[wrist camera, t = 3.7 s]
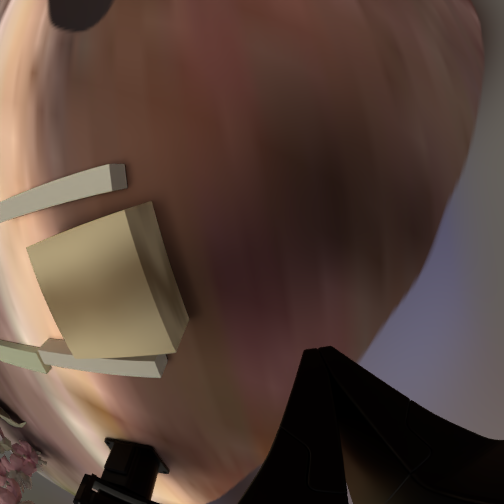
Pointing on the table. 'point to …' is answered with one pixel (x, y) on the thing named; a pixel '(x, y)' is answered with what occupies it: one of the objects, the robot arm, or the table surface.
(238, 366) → the table surface
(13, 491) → the flower
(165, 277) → the maple block
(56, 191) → the twin beige slats
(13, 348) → the bars
